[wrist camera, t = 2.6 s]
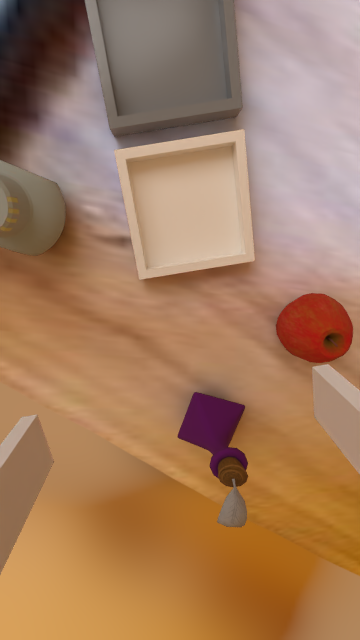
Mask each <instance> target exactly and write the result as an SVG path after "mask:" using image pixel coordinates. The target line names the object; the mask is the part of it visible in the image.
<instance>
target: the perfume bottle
mask: <svg viewBox="0 0 360 640" xmlns="http://www.w3.org/2000/svg"><path fill="white" fill-rule="evenodd" d="M244 409H245V406H244V405H242V404H238V403H235V402H231V401H227V400H224V399H220V398H216V397H212V396H209V395H205V394H201V393H198V392H194V394H193V397H192V399H191V402H190V404H189V407H188V410H187V412H186V415H185V418H184V420H183V423H182V425H181V428H180V431H179V433H178V438H179V439H182V440H184V441H187V442H190V443H192V444H195V445H197V446H199V447H202V448H204V449H206V450H209V451H210V452H211V453H212V454H213V456H212V457H211V462H210V468H211V470H212V473H213V474H214V476H216V477H217V478H219V479H220V482H222V483H223V484H224V485H226V486H230V487H234V488H233V489H232V491H231V492H230V493H229V494H228V496H227V497H226V499H225V502H224V504H223V506H222V509H221V512H220V514H219V517H218V521H217V522H218V523H220V524H222V525H224V526H227V527H242V526H244V525H245V523H246V520H247V510H246V505H245V501H244V499H243V498H242V496H241V495H240V493H239V491H238V490H237V488H236V487H237V486H241V485H243V484H244V483H245V482H246V481H247V478H248V475H247V472H246V468H247V465H248V462H247V459H246V457H245V454H244V453H243V452H241V451H240V450H238V449H237V448H230V447H228V446H229V443H230V441H231V439H232V437H233V434H234V432H235V430H236V427H237V425H238V423H239V421H240V418H241V416H242V414H243V411H244Z"/></svg>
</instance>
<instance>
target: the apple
mask: <svg viewBox="0 0 360 640" xmlns="http://www.w3.org/2000/svg"><path fill="white" fill-rule="evenodd" d="M276 330H277V335H278V337H279V339H280V341H281V343H282V344H283V346H284V347H285V348H286V350H288V351H289V352H290V353H291V354H293V355H295V356H297V357H300V358H302V359H304V360H307V361H309V362H315V363H323V362H330V361H332V360H335V359H337V358H339V357H341V356H343V355H344V354H345V353H346V352H347V351H348V350H349V348H350V345H351V343H352V337H353V326H352V322H351V320H350V318H349V316H348V314H347V312H346V310H345V309H344V307H343V306H342V305H341V304H340V303H338V302H337V301H336V300H335V299H333V298H331V297H329V296H327V295H325V294H315V293H311V294H306V295H303V296H301V297H299V298H298V299H296V300H294V301H293V302H291V303H289V304H288V305H287V306H286V307H285V308H284V309H283V311H282V312H281V314H280V315H279V317H278V320H277V324H276Z"/></svg>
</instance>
